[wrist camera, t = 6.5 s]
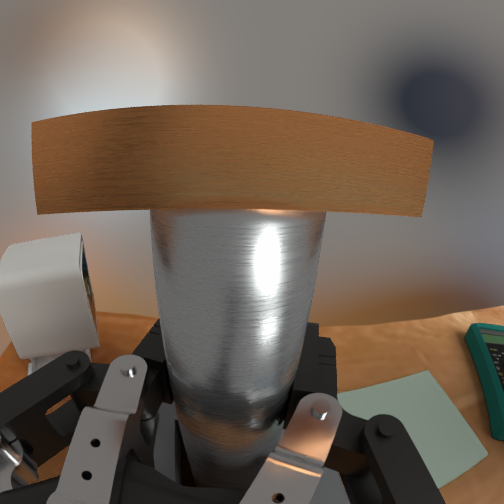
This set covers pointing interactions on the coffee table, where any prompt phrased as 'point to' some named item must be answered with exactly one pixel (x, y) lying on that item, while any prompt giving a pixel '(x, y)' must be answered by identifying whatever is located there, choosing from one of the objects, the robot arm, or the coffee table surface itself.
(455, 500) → the coffee table surface
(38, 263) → the security camera
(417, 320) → the coffee table surface
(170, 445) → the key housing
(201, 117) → the t key
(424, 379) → the pad
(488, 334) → the digital multimeter
